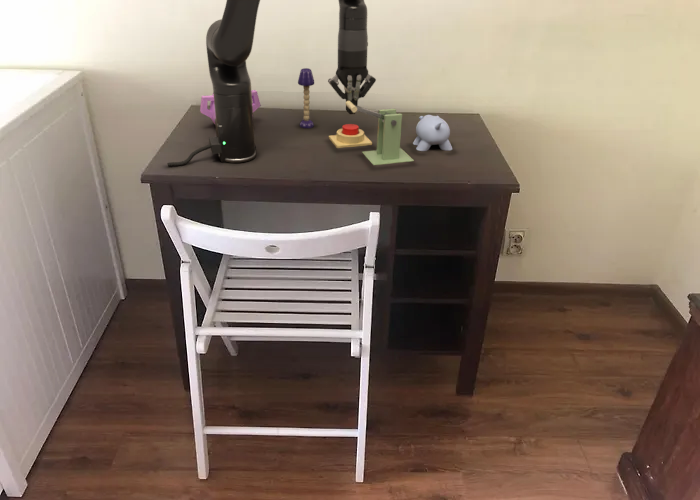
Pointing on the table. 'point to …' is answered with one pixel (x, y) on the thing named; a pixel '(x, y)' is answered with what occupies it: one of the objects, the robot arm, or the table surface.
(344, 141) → the button box
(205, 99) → the pot
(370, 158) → the bracket
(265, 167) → the table surface
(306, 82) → the toy lamp
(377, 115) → the lever
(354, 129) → the button
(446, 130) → the hippopotamus toy
